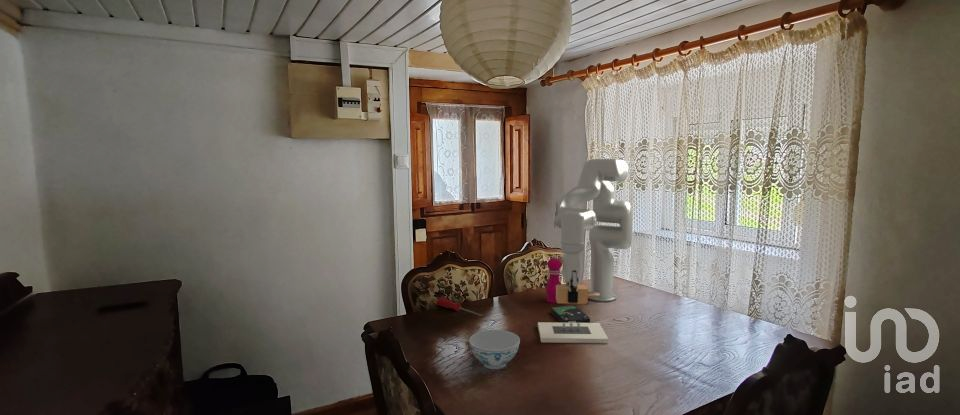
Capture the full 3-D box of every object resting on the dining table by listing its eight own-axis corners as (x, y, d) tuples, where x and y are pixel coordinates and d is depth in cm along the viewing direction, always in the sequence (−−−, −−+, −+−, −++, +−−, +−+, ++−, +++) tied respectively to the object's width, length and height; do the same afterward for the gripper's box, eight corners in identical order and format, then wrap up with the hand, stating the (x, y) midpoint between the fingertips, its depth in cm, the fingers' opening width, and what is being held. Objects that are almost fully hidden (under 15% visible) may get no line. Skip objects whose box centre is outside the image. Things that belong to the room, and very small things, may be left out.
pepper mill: (564, 303, 187) (564, 256, 185) (546, 303, 187) (547, 256, 185) (561, 298, 194) (561, 252, 192) (544, 298, 194) (544, 253, 192)
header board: (537, 326, 162) (537, 315, 162) (599, 326, 161) (599, 315, 161) (541, 342, 148) (541, 330, 148) (608, 343, 147) (608, 331, 147)
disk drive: (590, 325, 164) (574, 311, 179) (591, 318, 164) (574, 304, 178) (564, 327, 162) (550, 313, 177) (564, 320, 162) (550, 306, 176)
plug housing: (555, 298, 156) (556, 284, 155) (597, 299, 155) (597, 285, 155) (557, 303, 151) (557, 288, 150) (600, 303, 150) (600, 289, 150)
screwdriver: (478, 321, 168) (478, 312, 168) (436, 306, 186) (436, 297, 186) (485, 318, 171) (485, 309, 171) (442, 304, 188) (442, 295, 188)
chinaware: (462, 358, 137) (461, 334, 136) (505, 349, 143) (505, 326, 142) (481, 380, 124) (481, 354, 123) (529, 369, 130) (529, 344, 129)
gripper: (558, 243, 160) (557, 292, 162) (564, 252, 143) (563, 308, 145) (579, 243, 159) (578, 292, 161) (588, 252, 142) (587, 308, 144)
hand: (571, 299), depth 153 cm, fingers closed on plug housing, 5 cm apart
